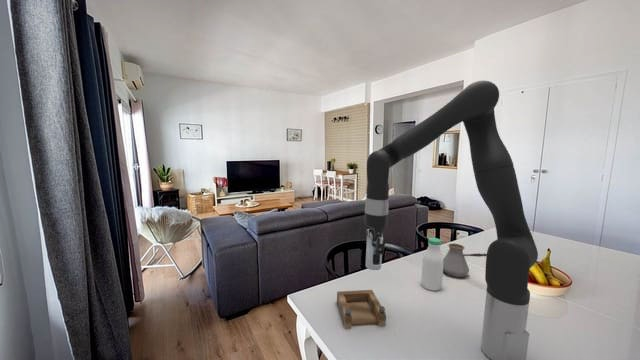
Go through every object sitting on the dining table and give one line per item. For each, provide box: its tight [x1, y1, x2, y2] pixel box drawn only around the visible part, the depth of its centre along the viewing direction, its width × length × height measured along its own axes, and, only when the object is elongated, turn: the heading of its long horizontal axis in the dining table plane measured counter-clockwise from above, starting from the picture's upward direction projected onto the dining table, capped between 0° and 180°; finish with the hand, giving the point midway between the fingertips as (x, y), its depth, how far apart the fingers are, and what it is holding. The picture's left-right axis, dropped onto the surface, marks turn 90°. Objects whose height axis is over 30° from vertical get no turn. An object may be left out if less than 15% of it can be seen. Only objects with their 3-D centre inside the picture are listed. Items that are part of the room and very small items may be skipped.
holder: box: [336, 289, 387, 329], centre depth 87 cm, size 14×13×6 cm
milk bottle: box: [420, 237, 444, 292], centre depth 104 cm, size 8×8×20 cm
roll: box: [365, 236, 383, 271], centre depth 86 cm, size 5×5×10 cm
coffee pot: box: [443, 243, 487, 278], centre depth 111 cm, size 21×12×15 cm, turn 22°
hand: (373, 260), depth 87 cm, fingers closed on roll, 5 cm apart
